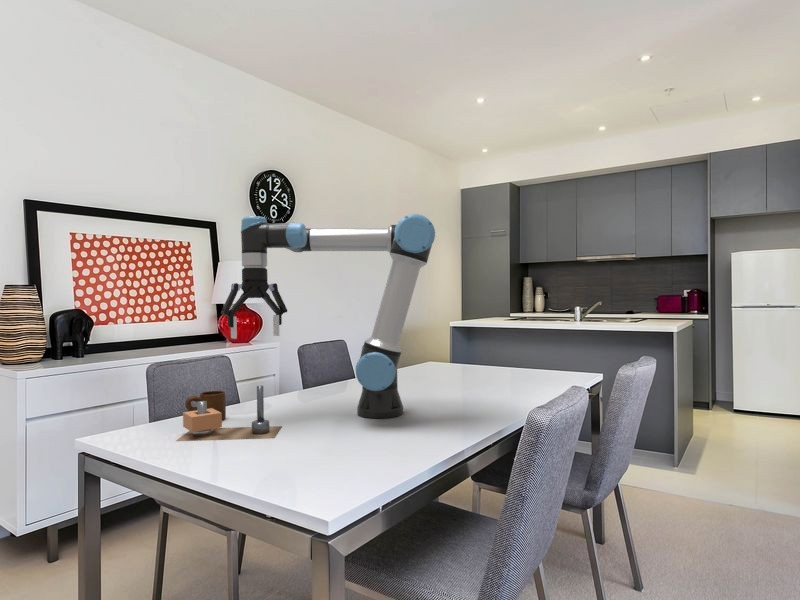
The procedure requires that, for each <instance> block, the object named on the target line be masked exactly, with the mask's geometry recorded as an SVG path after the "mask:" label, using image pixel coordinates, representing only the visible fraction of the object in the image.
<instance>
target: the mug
mask: <svg viewBox="0 0 800 600" xmlns="http://www.w3.org/2000/svg"><path fill="white" fill-rule="evenodd" d="M226 399H227V398H226V392H225V391H223V390H209V391H203V392H200V393H199V396H198V395H192V396H189V397H188V398H187V399H186V401H185V404H184V405H185V408H186V410H187V412H189V411H196V410H197V406H193V405H192V402H196V403H197V402H199V401H207V409H210V408H212V409H215V410H217V411H219V412H221V413H222V422H223V421H225V420H226V419H227V418H226V417H227V414H226V412H227V411H226V408H227V407H226Z"/></svg>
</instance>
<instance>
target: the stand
mask: <svg viewBox="0 0 800 600" xmlns="http://www.w3.org/2000/svg"><path fill="white" fill-rule="evenodd" d="M264 401H265V399H264V385H256V418H257V419H256V420H253V421H251V427H252V434H255V435H262V434H267V433H269V432H270V426H271V425H270V420H269V419H265V413H264V412H265V404H264Z"/></svg>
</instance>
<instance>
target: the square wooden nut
mask: <svg viewBox="0 0 800 600" xmlns="http://www.w3.org/2000/svg"><path fill="white" fill-rule="evenodd" d="M182 424H183V425H182V427H183V428H185V429H186V430H188V431H191V432H197V431H203V430H209V429H214V428H223V421H222V413H221V412H219V411H217V410H215V409H212V408H210V409H207V413H206V414H199V415H198V411H197V410H196V411H183V412H182Z"/></svg>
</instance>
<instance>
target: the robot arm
mask: <svg viewBox="0 0 800 600" xmlns="http://www.w3.org/2000/svg"><path fill="white" fill-rule="evenodd" d="M240 236H241V237H240V238H241V240H240V241H241V266H242V267H243V268H242V269H241V284H240V283H237V282H235V283H234V282H233V283H232V284H231V287H230V288H231V289H230V292H229V295H228V296H227V298H226V300H225V303H224V304H223V307H222V309H221V311H220V314H221V315H224V316H225V317H227V326H228V328H230V339H234V340H237V339H238V338H237V337H238V331H237V329H238V327H237V324H238V323H237V321H238V320H237V316H235V314H236V313H237V312H238V311H239V310H240V308H241V307H242V306H243V304H244V303H245V302H246V301H247V300H248V299H262V300H264V302H265V303H266V304H267V305H268V307H270V309H271V310H272V311H273V313H274V314H273V316H272V317H273V318H272V321H273V323H272V325H273V327H272V329H273V331H272V332H273V333H272V334H273V336H274V337H280V326H282V323H283V322H282V319H283V318H282V315H283V314H285V313H288V309H287V307H286V305H285V302H284V300H283V298H282V296H281V294H280V291H279V289H278V284H277V283H270V284H268V268H266V267H267V266H268V249H286V250H289V251H292V252H293V253H303V252H387V253H389V255H390V257H391V259H392V263H391V266H390V270H389V274H388V276H387V280H386V284H385V286H384V287H385V288H384V291H383V295H382V298H381V301H380V304H379V308H378V312H377V315H376V318H375V322H374V326H373V330H372V333H371V336H370V337H368V338H366V339H365V340H364V342H363V345H362V346H361V350H360V351H361V353H360V356H359V359H358V361H357V362H356V365H355V377H356V380H357V381H358V383H359V384H360V385H361V387H362V390H361V395H360V398H359V401H358V405H357V407H356V408H357V409H356V410H357V411H356V413H357V415H358V416H359V417H363V418H369V419H389V418H395V417H399V416H402V415H403V414H404V406H403V405H404V404H403V402H402V400H401V399H402V398H401V395H400V394H399V389H398V387H399V385H398V366H399V363H400V359H401V355H402V351H403V350H402V349H401V346H400V340H401V337H402V334H403V329H404V326H405V323H406V319H407V316H408V312H409V310H410V304H411V301H412V299H413V296H414V292H415V288H416V284H417V280H418V277H419V274H420V270H421V268H423V267H424V266H426V265H427V263H428V261H429V258H430V257H429V256H430V253H431V250H432V247H433V244H434V242H435V238H436V229H435V226H434V224H433V222H432V221H431V220H430V219H429V218H428V217H426V216H424V215H422V214H419V213H411V214H408V215H404V217H402V218H401V219H400V220H399V221H398V222H397V224H389V226H388V227H359V228H358V227H356V228H355V227H351V228H349V227H346V228H345V227H343V228H342V227H341V228H340V227H339V228H337V227H335V228H334V227H332V228H331V227H330V228H325V227H324V228H319V227H318V228H316V227H314V228H311V227H310V228H306V225H305V224H304V223H302V222H286V223H285V222H279V223H278V222H277V223H269V222H268V221H267V218H266V217H264V216H259V215H258V216H255V215H251V216H250V215H248V216H244V217H243V218H242V219H241V231H240ZM241 290H242V293H241V295H240V296H239V298H238V299H237V300H236V302H235V303H234V301H235V299H236V296H237V294H238V292H239V291H241ZM268 290H269V291H270V293H271V294H272V297H273V298H274V300H273V299H272V298H271V296H270V294H269V293H268V292H267V291H268ZM275 302H276V303H275ZM233 303H234V304H233Z"/></svg>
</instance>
